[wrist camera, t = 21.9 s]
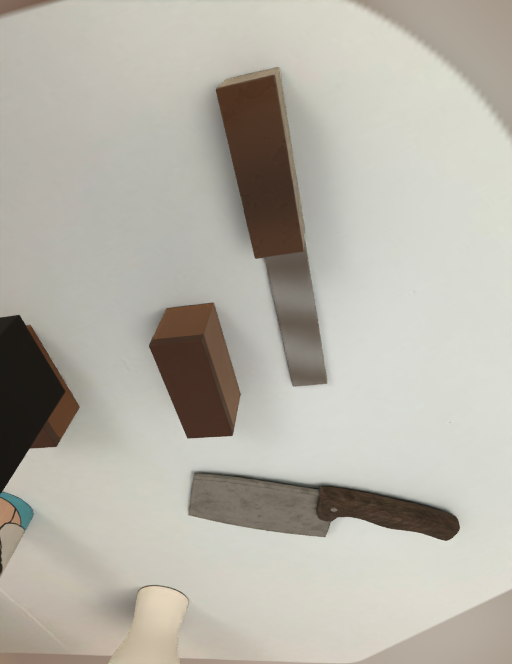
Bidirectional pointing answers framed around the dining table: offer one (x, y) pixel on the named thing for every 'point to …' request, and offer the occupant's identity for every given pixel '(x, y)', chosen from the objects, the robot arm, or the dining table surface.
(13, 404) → the robot arm
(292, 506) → the cleaver
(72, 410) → the cake
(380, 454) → the dining table surface
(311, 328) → the knife
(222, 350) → the cake slice
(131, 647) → the cup
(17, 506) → the cup
